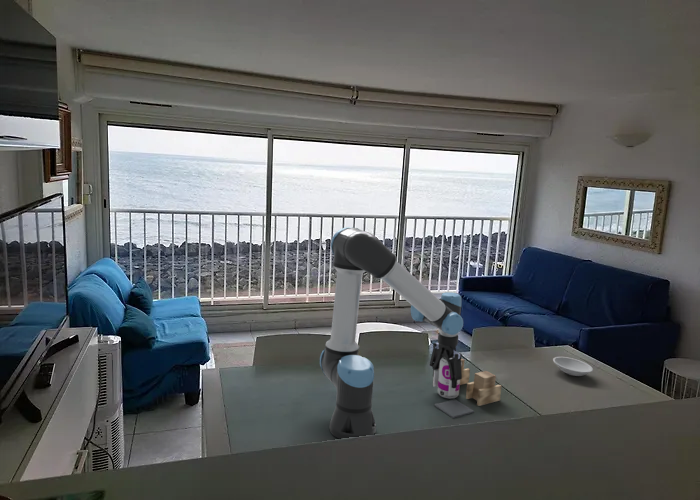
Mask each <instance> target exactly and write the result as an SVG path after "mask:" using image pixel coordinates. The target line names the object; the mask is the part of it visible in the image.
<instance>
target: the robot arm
mask: <svg viewBox="0 0 700 500" xmlns="http://www.w3.org/2000/svg"><path fill="white" fill-rule="evenodd" d="M330 248H331V252H332V254H333V264H332V267H333V268H334V269H335V270H336V278H335V279H336V280H335V290H334V299H333V310H332V320H331V322H332V323H331V329H330V330H331V332H330V339H328V340H327V341H325V345H324V346H325V347H324V350H323V349H322V352H321V353H320V355H319V366H320V369H321V371H322V373H323V375H324V376H325V377H326V378H327V379H328V380H329V381H330V382H331V384H332V385H333V386H334V387H335V389H336V397H335V398H336V399H335V407H334V410H333V413H332V415H331V418H330V419H329V420H330V421H329V432H330V433H331V435H332V436H333V437H334V438H337V439H339V440H341V439H340V438H349V437H359V436H366V435H373V434H374V433H375V434H376V430H377V428H376V427H377V425H376V420H375V417H374V412H373V394H374V393H373V391H374V382H375V381H374V379H375V371H374V370H375V367H374V364H373V363H372V362H371V360H370V359H368V358H366V357H365V356H363V357H362V356H361V355H359V350H360V349H359V348H360V345H359V344H358V343H357V341H356V334H357V326H358V317H359V307H360V299H361V289H362V281H363V280H362V279H363V274H364V273H365V272H366V273H368V274H370V275H371V276H372V277H373V278H375V279H376V280H381V281H383V282H384V283H385V284H386V285H388V286H389V287H390V289H391V288H392V290H394V291H395V292H396V293H397V294H398V295H399V296H401V297H402V298H403V300H405V301H406V302H407V303H409V304H410V315H411V318H412V320H413V321H415V322H421V323H422V322H426V323H428V324H430V325H432V326H433V327H436V328H437V329H438V333H437V342H433V343H432V351H431V356H430V362H429V366H430V367H432V369H433V370H432V378H433V379H432V386H433V387H438V378H439V366H440V360H441V358H442V357H445V358H446V360H447V362H448V365H449V370H450V375H451V379H449V390H448V396H453V395H455V388H456V387H457V380H461V379H462V370H461V358H462V356H463V354H462V353H461V352H458V351H457V346H458V344H459V333H460V332H461V330H462V328H463V327H464V318H462V316H461V312H462V304H463V303H462V301H463V300H462V296H461V295H460V294H459V293H456V292H452V291H449V292H446V291H445V292H443V293H442V294H441V297H440V298H438V297H437V296H436V295H435V294H434V293H433V292H432V291H431V290H430V289H429V288H428V287H426V285H424V284H423V283H422V282H420V280H419V279H418V278H416V277H415V276H414V275H413V274H412V273H410V272H409V271H408V270H407V269H406V268H405V267H404V266H403V265H402V264H401V263H400V262H398V261H397V259H398V258H397V256H396V255H395V254H394V253H393V252H392V251H391V250H390V249H389V248H388V247H387V245H385V244H384V243H383V242H382V241H381V240H380V239H379V238H377V237H376V236H375V235H374V234H372V233H371V232H369V231H365V230H362V229H359V228H357V227H354V226H353V227H350V226H345V227H343V228H340V229H338V231H336V232H335V233H334V234H333V236H332V238H331V241H330ZM450 358H452V359H450ZM375 434H374V435H375Z"/></svg>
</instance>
